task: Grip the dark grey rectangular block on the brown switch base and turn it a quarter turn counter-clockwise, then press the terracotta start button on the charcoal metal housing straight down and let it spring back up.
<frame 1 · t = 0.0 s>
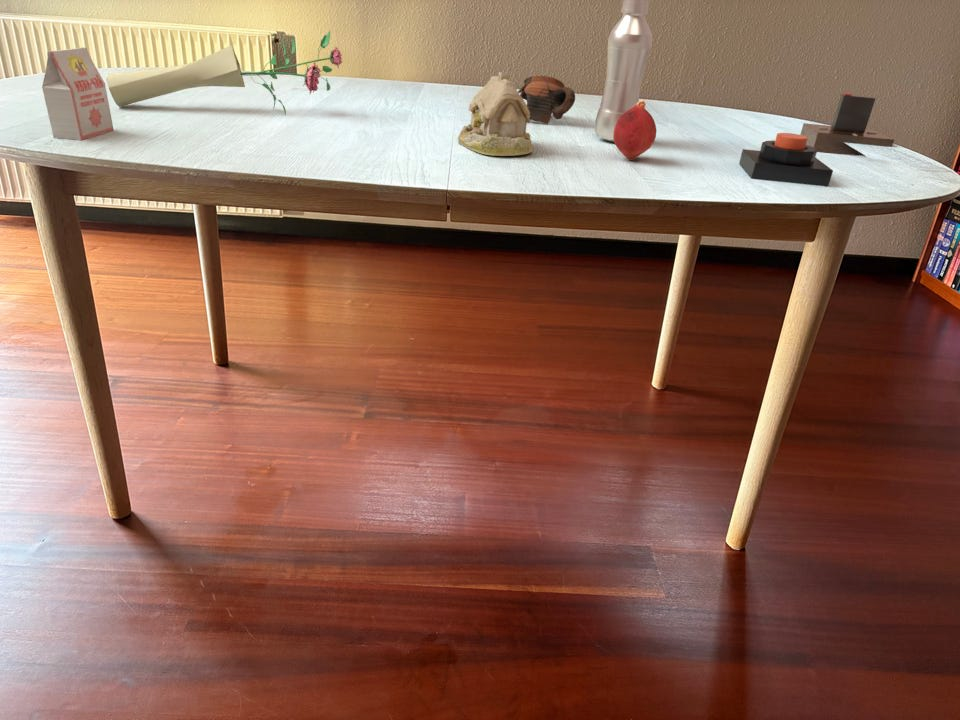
dark grey rectangular block: (853, 112, 114), point 6 cm above the table, hinge at 0.0°
button housing: (781, 175, 95), on the table
brown switch base: (841, 149, 116), on the table
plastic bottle: (613, 142, 109), on the table
onion: (629, 161, 97), on the table
pottery mug: (543, 121, 121), on the table
ceramic model: (498, 147, 99), on the table
flower vase: (232, 111, 110), on the table
white gable-top carton: (84, 135, 88), on the table
start button: (790, 142, 93), point 4 cm above the table, slide at 0.1 cm
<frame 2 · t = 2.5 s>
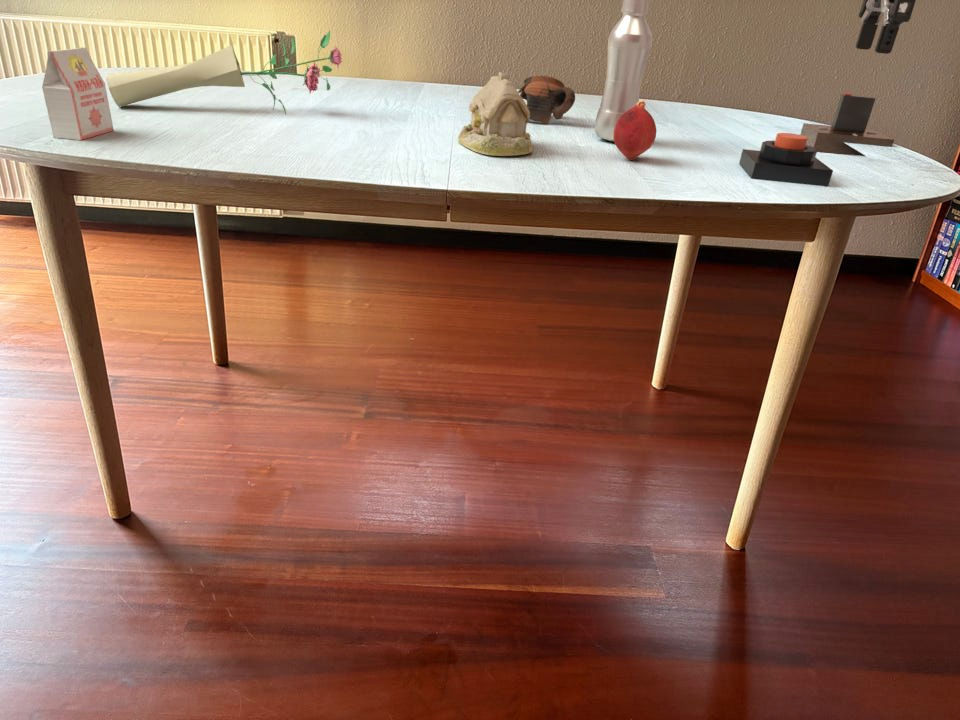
hand: (871, 51, 108), 15 cm above the table, tool pointing down, fingers open, 8 cm apart
nothing on the table moved.
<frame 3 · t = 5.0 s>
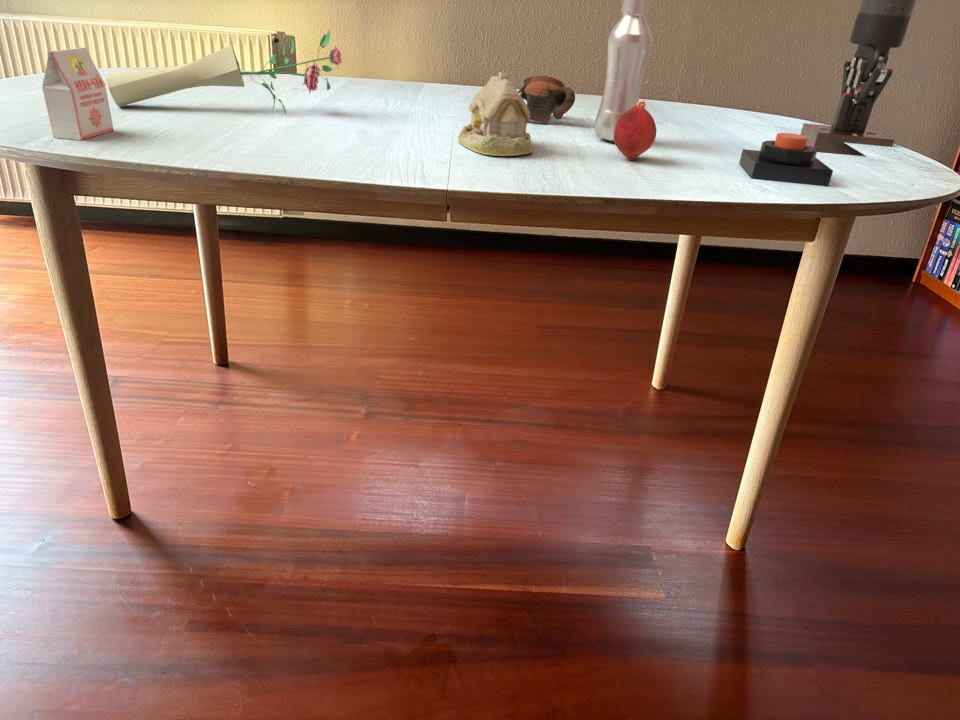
hand: (848, 127, 115), 4 cm above the table, tool pointing down, fingers closed on dark grey rectangular block
dark grey rectangular block: (853, 112, 114), point 6 cm above the table, hinge at 3.6°, touching gripper
everything else where it was.
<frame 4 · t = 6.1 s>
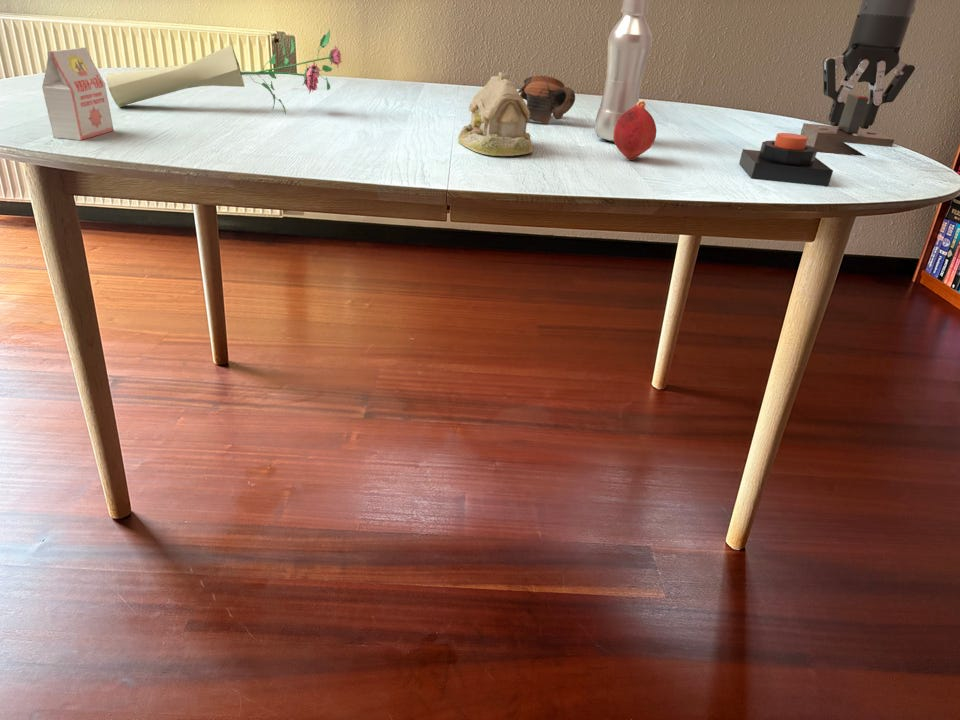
hand: (848, 126, 115), 4 cm above the table, tool pointing down, fingers open, 4 cm apart
dark grey rectangular block: (853, 112, 114), point 6 cm above the table, hinge at 90.4°
everything else where it was.
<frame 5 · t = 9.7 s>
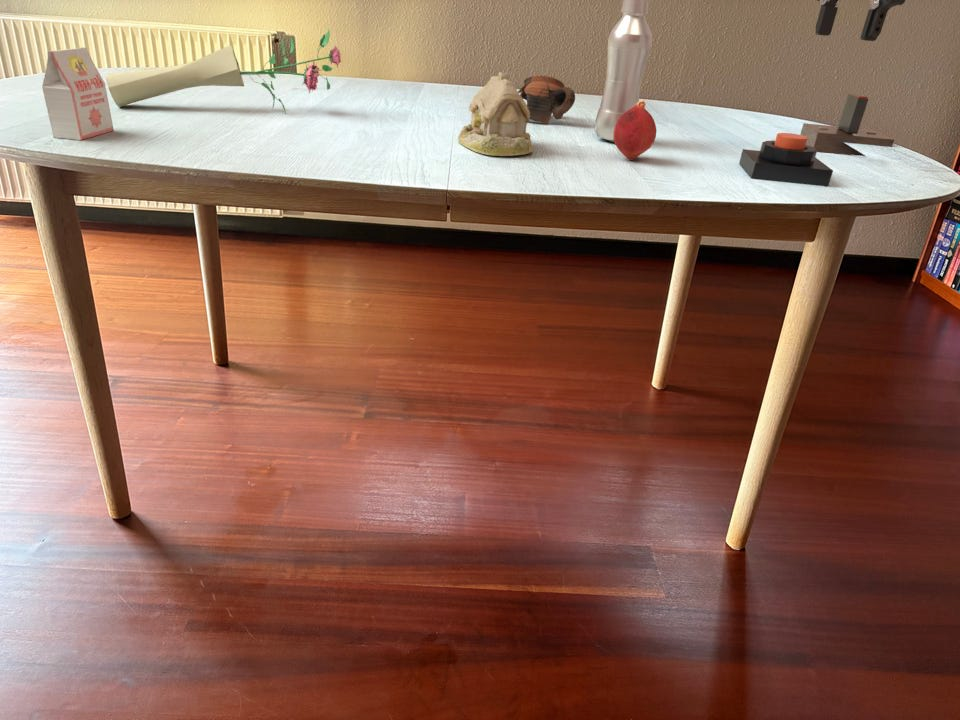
hand: (844, 37, 96), 17 cm above the table, tool pointing down, fingers open, 8 cm apart
nothing on the table moved.
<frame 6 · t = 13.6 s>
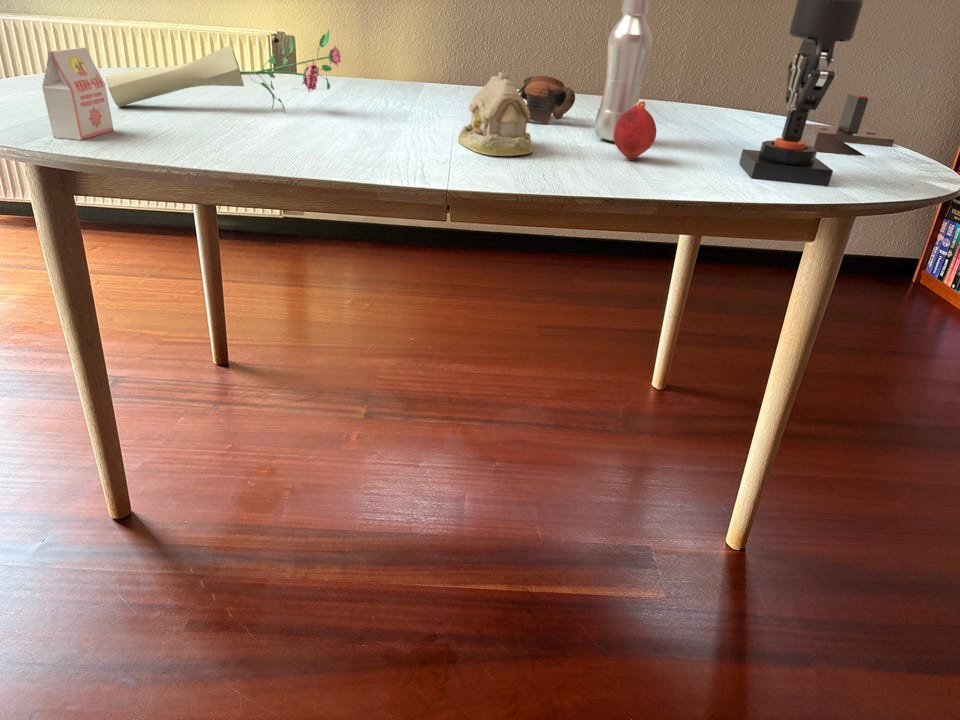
hand: (790, 140, 93), 5 cm above the table, tool pointing down, fingers closed
start button: (789, 147, 93), point 4 cm above the table, slide at -0.5 cm, touching gripper
everything else where it was.
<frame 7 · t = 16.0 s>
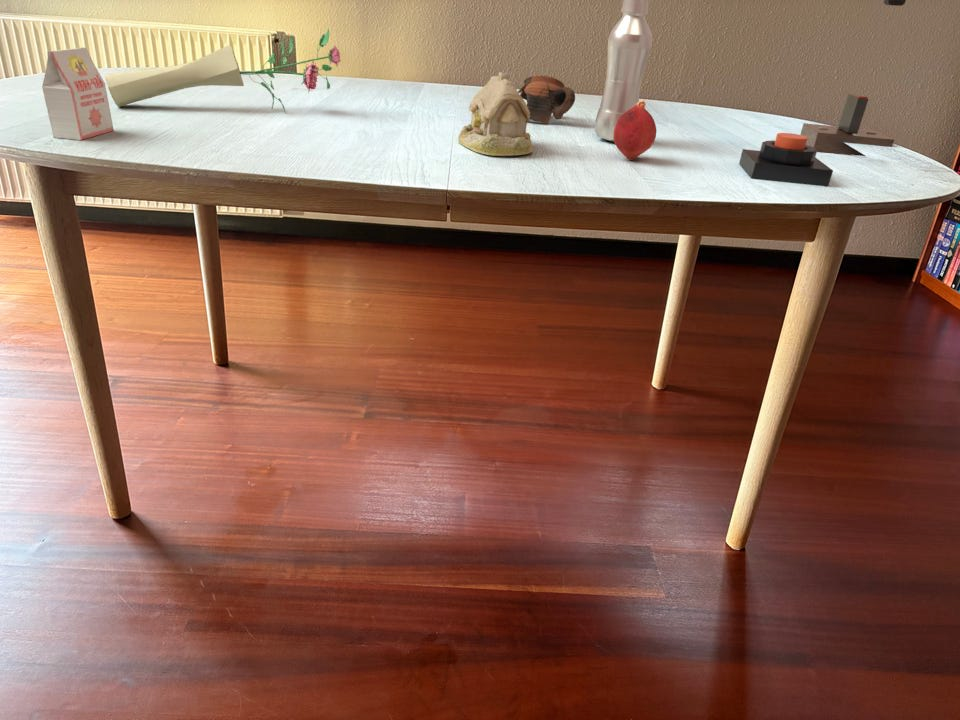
hand: (893, 5, 93), 22 cm above the table, tool pointing down, fingers closed
start button: (790, 142, 93), point 4 cm above the table, slide at 0.1 cm
everything else where it was.
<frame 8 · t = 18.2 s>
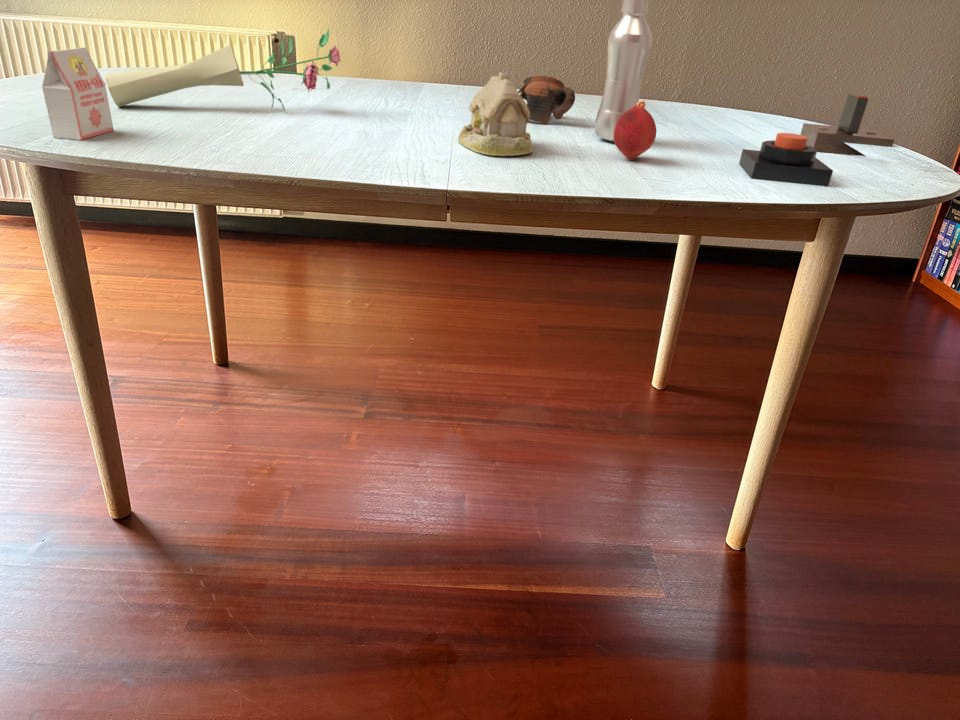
at the end: dark grey rectangular block at +90° (first picture: +0°); start button pushed in 1.1 cm at the most during the clip, back to where it started at the end; start button slide at 0.1 cm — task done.
